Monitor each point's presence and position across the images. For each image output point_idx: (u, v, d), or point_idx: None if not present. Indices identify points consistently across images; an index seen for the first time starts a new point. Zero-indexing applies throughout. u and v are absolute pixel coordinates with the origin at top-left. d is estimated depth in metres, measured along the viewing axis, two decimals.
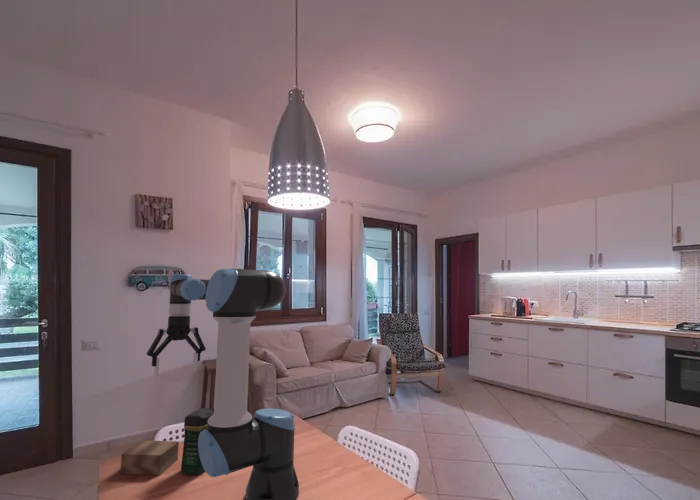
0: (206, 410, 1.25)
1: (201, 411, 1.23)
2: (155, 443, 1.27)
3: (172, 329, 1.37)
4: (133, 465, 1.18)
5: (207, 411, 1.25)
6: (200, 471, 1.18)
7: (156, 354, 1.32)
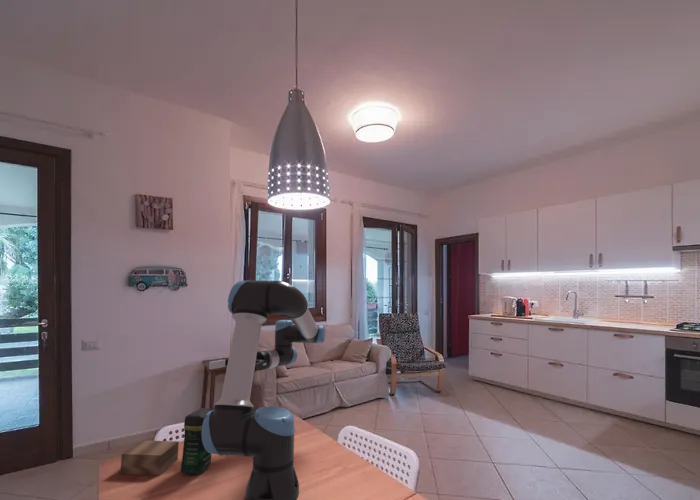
0: (206, 410, 1.25)
1: (201, 411, 1.23)
2: (155, 443, 1.27)
3: None
4: (133, 465, 1.18)
5: (207, 411, 1.25)
6: (200, 471, 1.18)
7: (226, 359, 1.47)
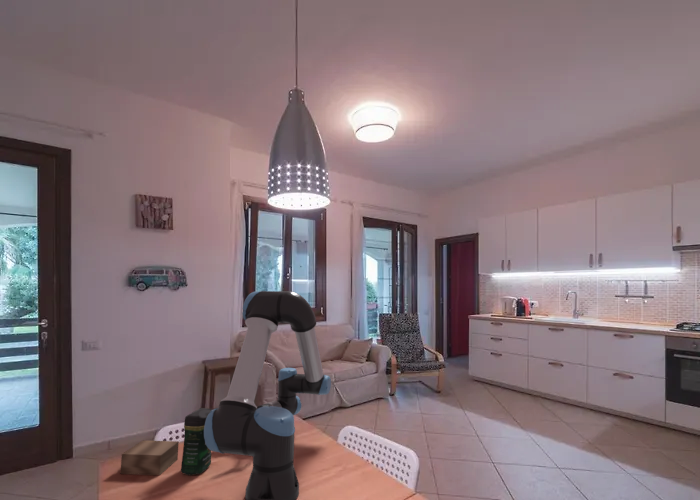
0: (206, 410, 1.25)
1: (201, 411, 1.23)
2: (155, 443, 1.27)
3: None
4: (133, 465, 1.18)
5: (207, 411, 1.25)
6: (200, 471, 1.18)
7: None
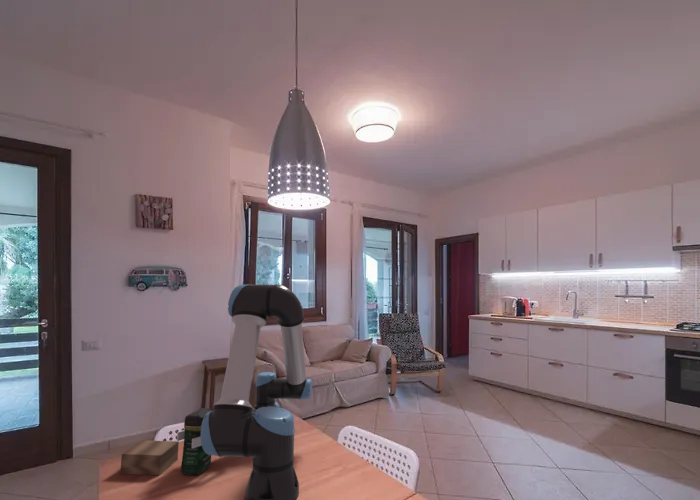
0: (206, 410, 1.25)
1: (201, 411, 1.23)
2: (155, 443, 1.27)
3: None
4: (133, 465, 1.18)
5: (207, 411, 1.25)
6: (200, 471, 1.18)
7: None
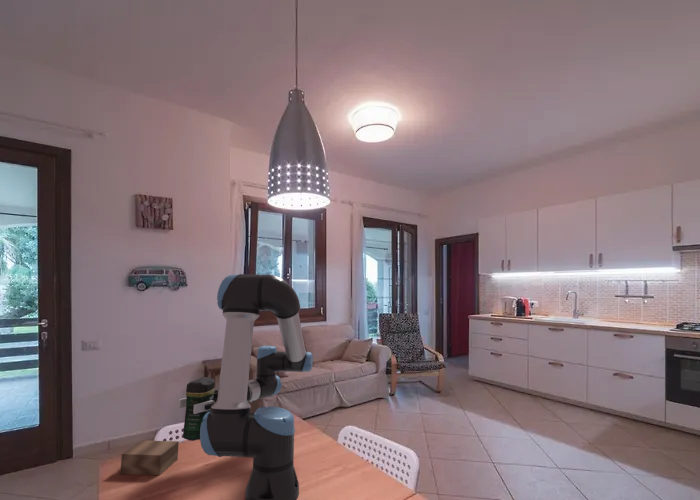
0: (208, 378, 1.26)
1: (203, 379, 1.24)
2: (155, 443, 1.27)
3: None
4: (133, 465, 1.18)
5: (209, 379, 1.26)
6: None
7: None
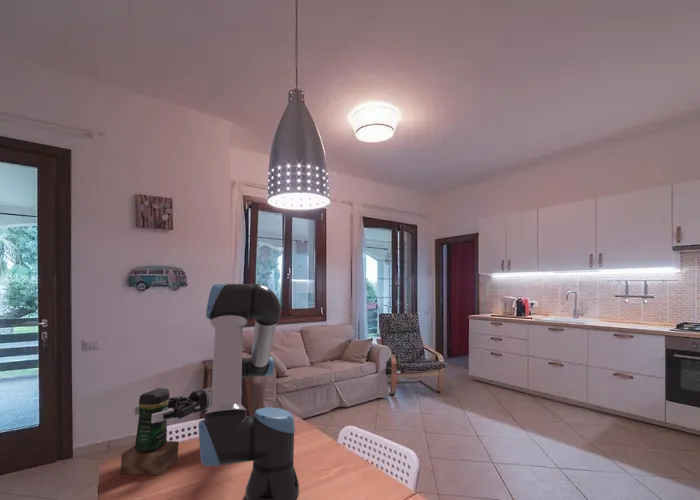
0: (162, 390, 1.27)
1: (156, 390, 1.25)
2: None
3: (186, 398, 1.37)
4: (133, 465, 1.18)
5: (163, 391, 1.27)
6: (153, 448, 1.20)
7: None
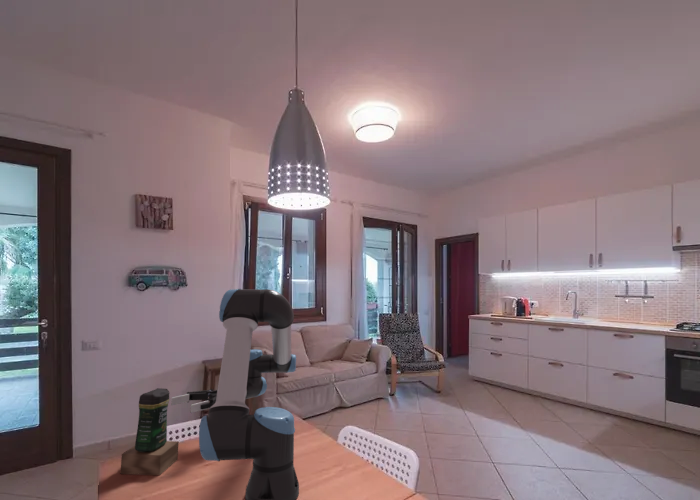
0: (162, 390, 1.28)
1: (156, 390, 1.26)
2: None
3: None
4: (133, 465, 1.18)
5: (163, 391, 1.27)
6: (153, 448, 1.20)
7: (190, 393, 1.43)
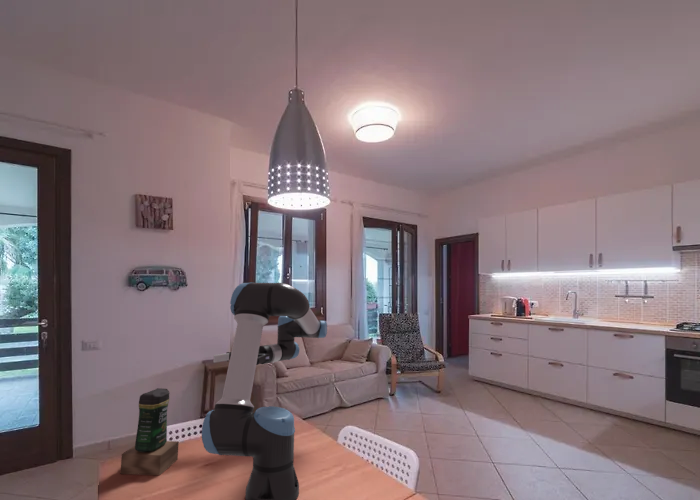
0: (162, 390, 1.28)
1: (156, 390, 1.26)
2: None
3: None
4: (133, 465, 1.18)
5: (163, 391, 1.27)
6: (153, 448, 1.20)
7: (230, 353, 1.50)
